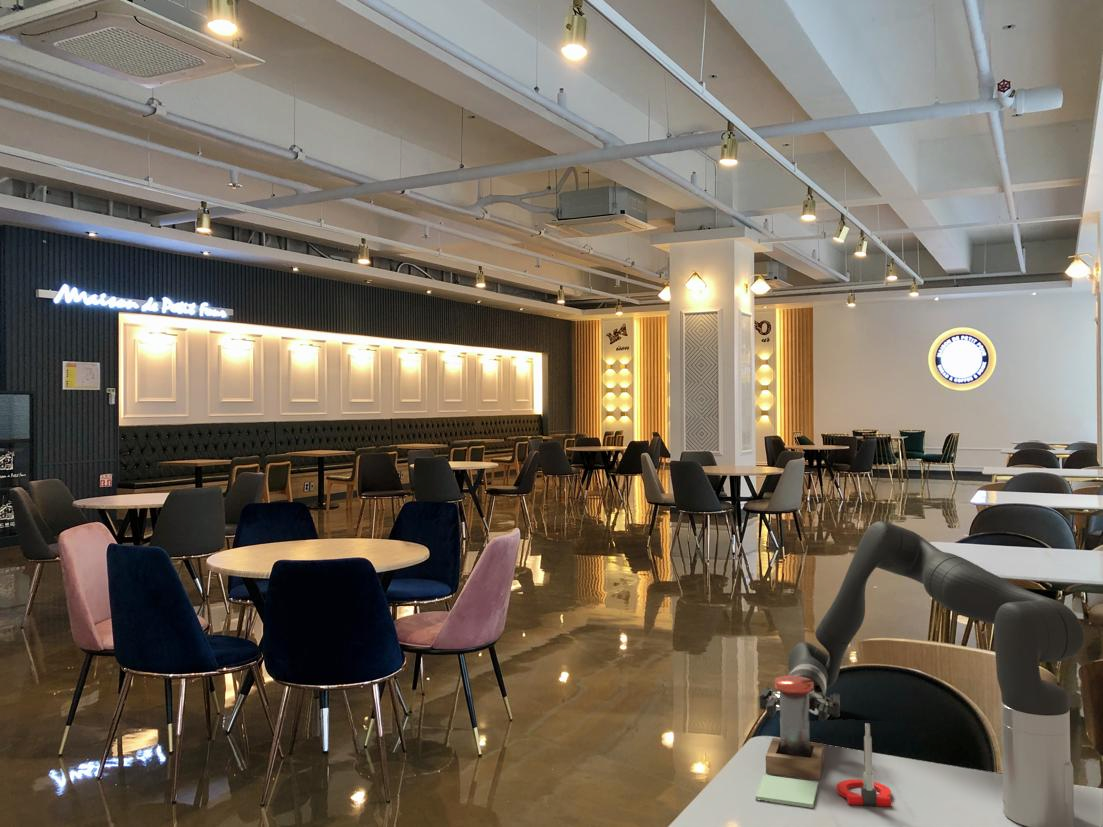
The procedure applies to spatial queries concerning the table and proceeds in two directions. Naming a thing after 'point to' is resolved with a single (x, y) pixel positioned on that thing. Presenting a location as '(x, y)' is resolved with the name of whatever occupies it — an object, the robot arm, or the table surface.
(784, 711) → the steel peg
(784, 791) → the sage mat
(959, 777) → the table surface
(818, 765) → the brown square frame
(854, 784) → the tow hook
